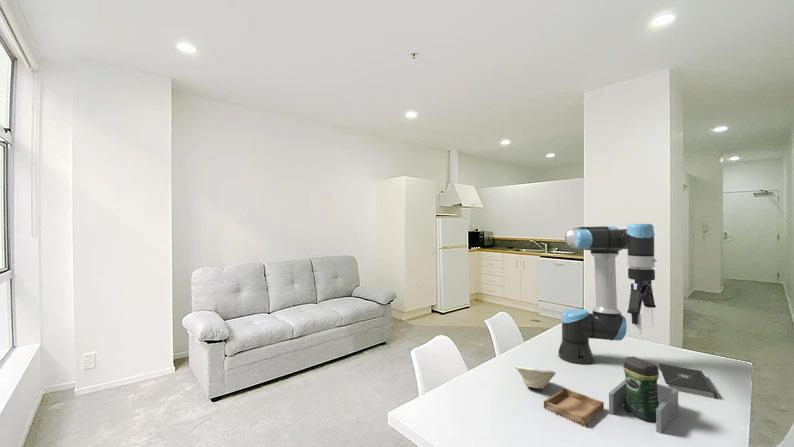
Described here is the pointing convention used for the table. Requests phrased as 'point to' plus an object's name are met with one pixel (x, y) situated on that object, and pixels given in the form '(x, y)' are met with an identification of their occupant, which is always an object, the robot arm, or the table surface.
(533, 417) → the table surface
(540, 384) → the bowl
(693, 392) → the book
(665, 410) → the bay
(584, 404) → the tray
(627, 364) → the coffee jar
